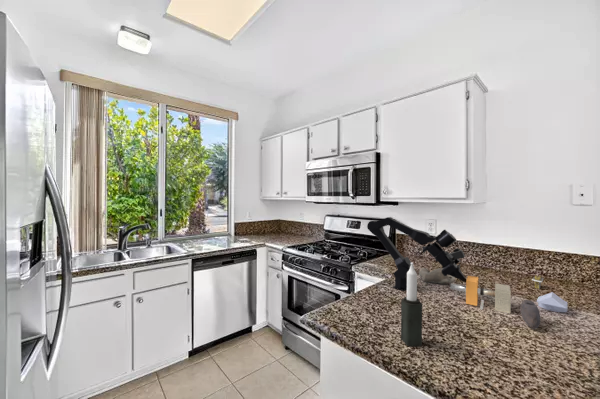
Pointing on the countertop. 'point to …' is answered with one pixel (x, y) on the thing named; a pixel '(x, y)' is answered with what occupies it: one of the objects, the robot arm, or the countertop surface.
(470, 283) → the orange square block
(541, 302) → the pale blue faceted stone
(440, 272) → the grey lumpy stone
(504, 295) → the pipe stand
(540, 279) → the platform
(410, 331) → the candle
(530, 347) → the countertop surface
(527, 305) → the perforated stone tool
